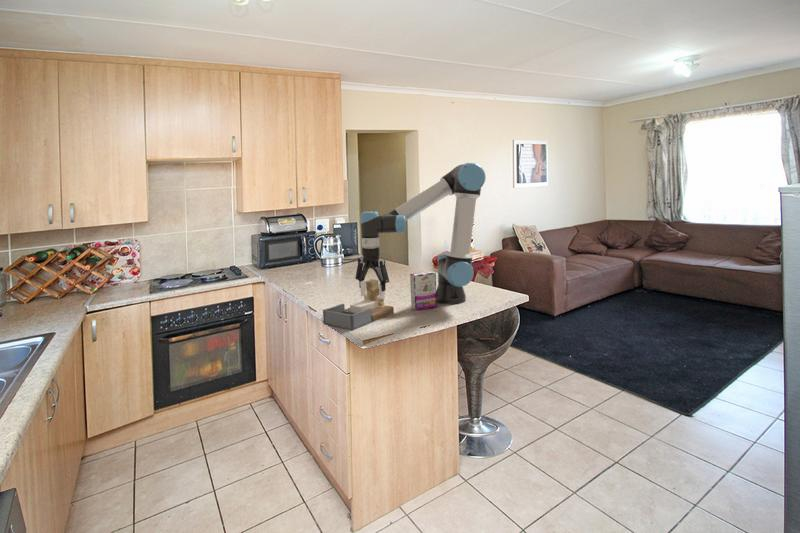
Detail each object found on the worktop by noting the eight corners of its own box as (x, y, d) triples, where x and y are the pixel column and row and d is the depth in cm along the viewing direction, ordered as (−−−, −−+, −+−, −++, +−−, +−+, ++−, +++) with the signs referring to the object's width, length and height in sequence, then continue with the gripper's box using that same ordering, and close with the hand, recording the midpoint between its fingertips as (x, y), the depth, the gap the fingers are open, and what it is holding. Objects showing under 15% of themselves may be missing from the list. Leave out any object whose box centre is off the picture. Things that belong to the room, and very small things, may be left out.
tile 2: (378, 307, 192) (378, 300, 191) (370, 310, 187) (369, 304, 186) (368, 305, 195) (367, 299, 195) (359, 308, 190) (359, 302, 190)
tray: (371, 322, 180) (371, 308, 179) (352, 330, 171) (352, 315, 170) (343, 316, 190) (342, 303, 189) (323, 324, 180) (322, 310, 179)
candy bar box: (431, 304, 205) (431, 270, 202) (437, 307, 200) (436, 272, 197) (410, 308, 200) (409, 273, 197) (415, 310, 196) (414, 275, 193)
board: (393, 313, 193) (393, 306, 192) (372, 322, 181) (372, 315, 180) (366, 308, 202) (365, 302, 202) (344, 316, 190) (343, 309, 189)
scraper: (385, 304, 193) (383, 280, 190) (380, 307, 190) (377, 283, 187) (368, 301, 199) (366, 278, 196) (363, 304, 196) (360, 281, 193)
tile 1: (370, 310, 187) (369, 304, 186) (360, 314, 182) (360, 307, 182) (359, 308, 190) (359, 302, 190) (350, 312, 186) (350, 305, 185)
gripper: (345, 246, 192) (348, 295, 196) (385, 249, 179) (387, 301, 183) (356, 244, 198) (359, 292, 202) (396, 247, 185) (398, 298, 189)
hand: (372, 296), depth 193 cm, fingers closed on scraper, 10 cm apart
